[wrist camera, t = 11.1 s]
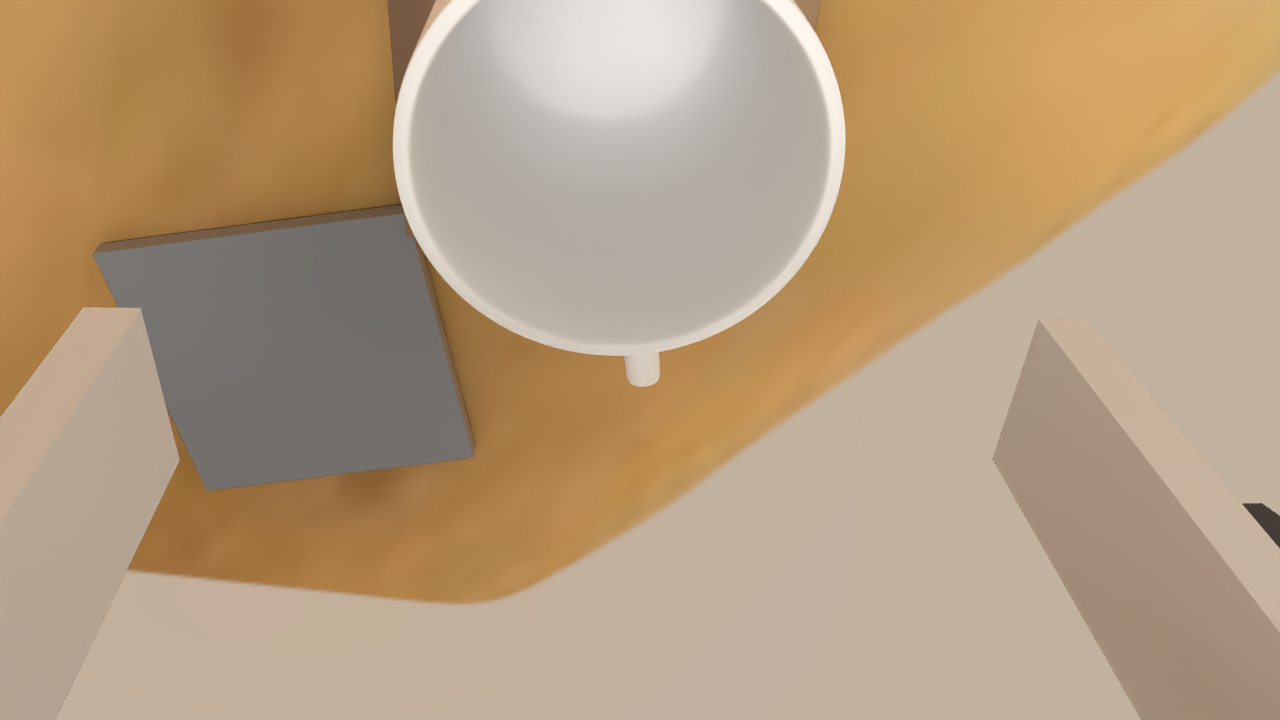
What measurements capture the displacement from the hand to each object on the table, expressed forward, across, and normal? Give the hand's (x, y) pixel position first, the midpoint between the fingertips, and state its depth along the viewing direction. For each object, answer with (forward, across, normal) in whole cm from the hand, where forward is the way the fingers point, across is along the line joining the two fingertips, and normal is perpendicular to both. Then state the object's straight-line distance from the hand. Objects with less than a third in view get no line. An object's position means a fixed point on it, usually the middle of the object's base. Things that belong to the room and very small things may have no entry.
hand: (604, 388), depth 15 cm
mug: (+16, +1, 0) cm, 17 cm away
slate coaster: (+17, -9, -11) cm, 22 cm away
